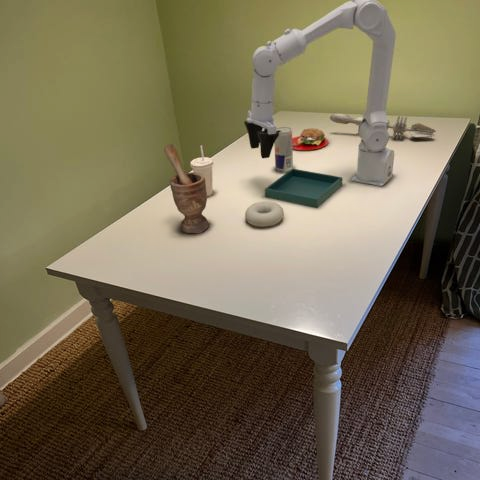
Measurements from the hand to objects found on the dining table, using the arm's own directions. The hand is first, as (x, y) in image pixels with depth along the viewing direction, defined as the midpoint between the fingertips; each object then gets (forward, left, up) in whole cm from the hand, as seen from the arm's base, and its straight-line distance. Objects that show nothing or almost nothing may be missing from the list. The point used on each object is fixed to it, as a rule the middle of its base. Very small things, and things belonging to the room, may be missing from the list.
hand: (259, 152), depth 132 cm
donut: (-11, +16, -11) cm, 22 cm away
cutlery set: (-15, -50, -11) cm, 53 cm away
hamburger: (+5, -36, -11) cm, 38 cm away
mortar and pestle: (+5, +27, -11) cm, 29 cm away
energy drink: (+1, -14, -11) cm, 18 cm away
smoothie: (+13, +10, -11) cm, 20 cm away
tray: (-12, -3, -10) cm, 16 cm away
